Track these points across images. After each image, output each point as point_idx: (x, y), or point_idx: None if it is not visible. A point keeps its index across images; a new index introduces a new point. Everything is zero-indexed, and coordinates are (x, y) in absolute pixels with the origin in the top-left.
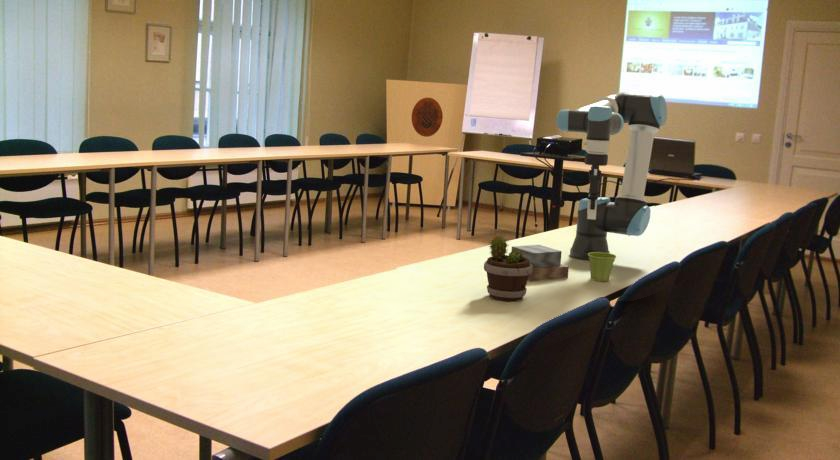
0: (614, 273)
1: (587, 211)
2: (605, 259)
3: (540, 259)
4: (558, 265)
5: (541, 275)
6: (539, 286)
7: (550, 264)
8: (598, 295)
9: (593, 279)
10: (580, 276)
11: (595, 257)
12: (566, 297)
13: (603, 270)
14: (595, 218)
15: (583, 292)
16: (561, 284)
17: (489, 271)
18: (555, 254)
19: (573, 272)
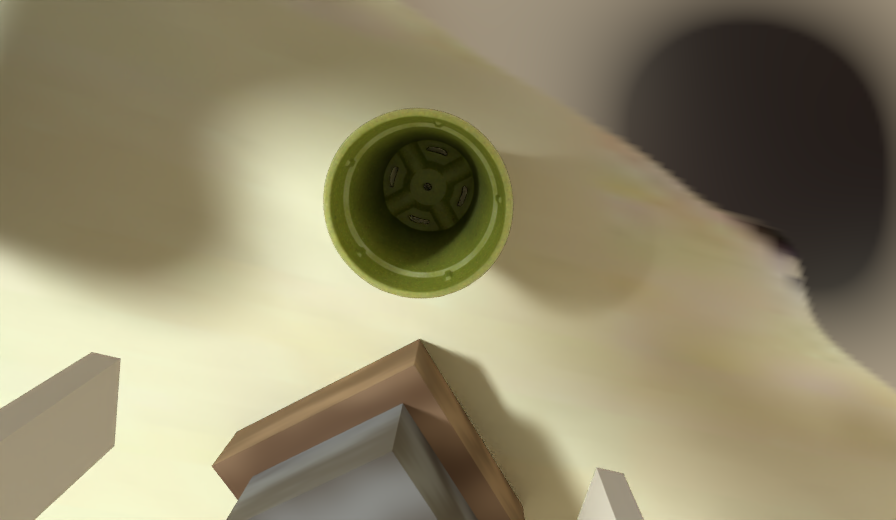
0: (245, 53)
1: (98, 458)
2: (503, 203)
3: None
4: (410, 414)
5: (497, 480)
6: None
7: (435, 462)
8: (763, 279)
9: (437, 221)
10: None
11: (488, 268)
12: (798, 425)
13: (485, 195)
14: (626, 485)
15: (706, 333)
16: (558, 395)
17: None
18: (417, 475)
19: (284, 283)
